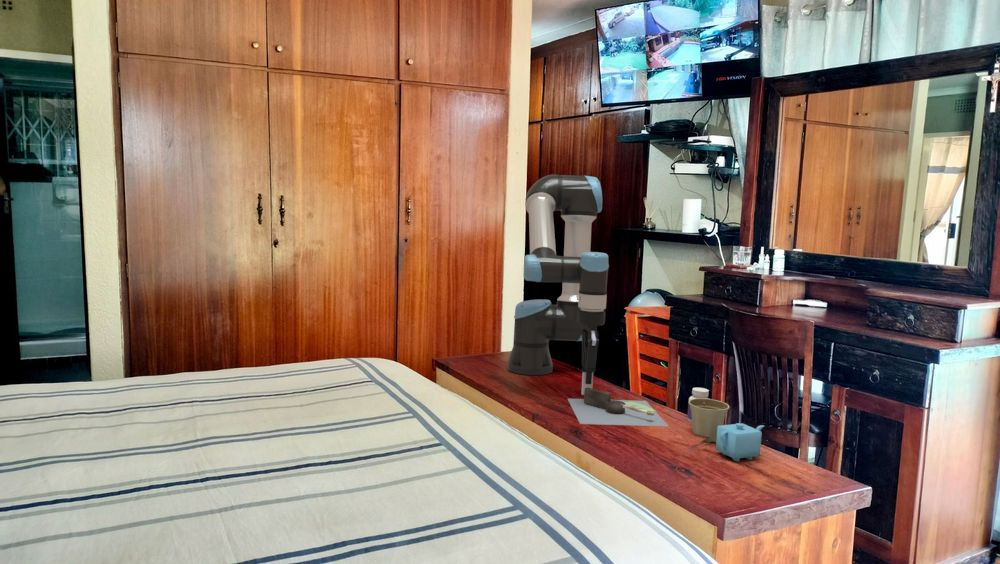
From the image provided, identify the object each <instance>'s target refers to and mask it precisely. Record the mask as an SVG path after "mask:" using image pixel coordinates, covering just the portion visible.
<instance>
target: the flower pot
mask: <svg viewBox="0 0 1000 564" xmlns="http://www.w3.org/2000/svg"><path fill="white" fill-rule="evenodd" d="M688 403H689V405H690V409H691V414H692V423H691V427H692V428H691V429H692V433H694V434H695V435H697V436H701V437H704V439H703V440H702V443H703V442H704V443H711V442H713V443H716V440H717V427H718V426H721V425H724V422H725V417H726V415H727V413H728V410H729V409H730V405H729V404H728V403H726V402H723V401H721V400H716V399H713V398H712V399H711V398H709V399H705V398H697V399H691V400H689V399H688Z"/></svg>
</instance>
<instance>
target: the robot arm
mask: <svg viewBox="0 0 1000 564" xmlns="http://www.w3.org/2000/svg"><path fill="white" fill-rule="evenodd" d="M524 204H525V210H526V212H527V213H528V223H529V224H528V225H529V226H528V227H529V254H526V255H524V258H523V278H524V280H525V281H526V282H536V283H562V288H561V289H562V291H561V295H560V296H559V297H558V298H557V299H556V300H557V301H556V304H552V302H551V300H550V299H542V298H541V299H539V298H538V299H529V300H523V301H520V302H518V303H516V306H515V309H514V316H513V318H514V329H513V345H512V348H511V351H510V354H509V357H508V359H507V362H506V363H507V364H506V369H507V371H509V372H510V373H512V374H513V373H514V374H518V375H525V376H526V375H527V376H543V375H544V376H545V375H548V374H551V373H553V367H554V364H553V361H552V357H551V353H550V348H549V342H550V341H568V342H569V341H574V342H581V366H582V367H581V368H582V369H581V373H582V377H581V392H580V393H581V395H582V396H584V392H585V388H592V389H594V388H593V386H594V385H593V384H594V373H595V372H596V369H597V368H596V367H597V360H598V359H597V358H598V349H599V343H600V339H599V336H600V335H599V334H600V331H598V328H597V327H598V326H603V325H605V324H606V323H605V322H606V311H605V310H606V309H607V297H608V296H607V295H608V294H607V291H608V290H607V289H608V274H609V268H610V264H609V255H608V254H607V253H605V252H599V251H591V246H592V245H591V243H592V226H593V225H592V223H593V222H594V221H595V220H596V219H598V218H597V217H598V216H597V215H598V214H599V213H601V212H602V210H603V191H602V185H601V181H600V180H599V179H598V178H597V177H596V176H589V175H575V174H571V175H568V174H549V175H548V174H547V175H545V176H543V177H541V178H539V179H538V180H537V181H535V183H533V184H532V185H531V187H530V188H529V189H528V191H527V194H526V196H525V203H524ZM555 211H557V212H559V211H560V217H561V218H562V220H563V221H564V222H565V224H564V245H563V246H564V248H563V255H557V251H556V238H555V236H556V235H555V223H554V212H555Z"/></svg>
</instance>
